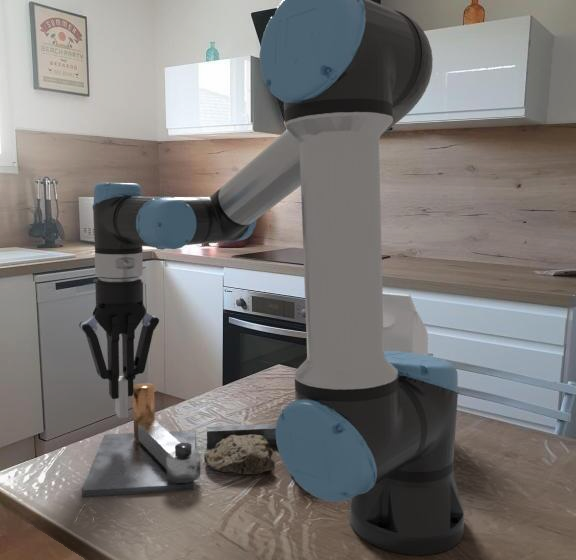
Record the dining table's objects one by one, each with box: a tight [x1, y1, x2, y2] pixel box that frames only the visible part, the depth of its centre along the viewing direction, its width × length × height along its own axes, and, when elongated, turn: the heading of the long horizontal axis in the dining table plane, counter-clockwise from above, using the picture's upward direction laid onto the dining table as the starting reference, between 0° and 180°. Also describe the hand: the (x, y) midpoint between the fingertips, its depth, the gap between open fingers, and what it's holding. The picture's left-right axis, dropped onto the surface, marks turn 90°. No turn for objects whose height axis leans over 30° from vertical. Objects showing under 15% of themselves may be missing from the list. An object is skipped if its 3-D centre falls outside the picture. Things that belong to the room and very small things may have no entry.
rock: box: [203, 435, 275, 476], centre depth 96 cm, size 11×11×4 cm
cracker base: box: [81, 406, 294, 498], centre depth 97 cm, size 20×34×7 cm, turn 98°
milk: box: [383, 292, 429, 356], centre depth 108 cm, size 12×12×26 cm
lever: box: [132, 382, 201, 483], centre depth 95 cm, size 21×5×9 cm, turn 33°
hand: (121, 415), depth 100 cm, fingers closed
